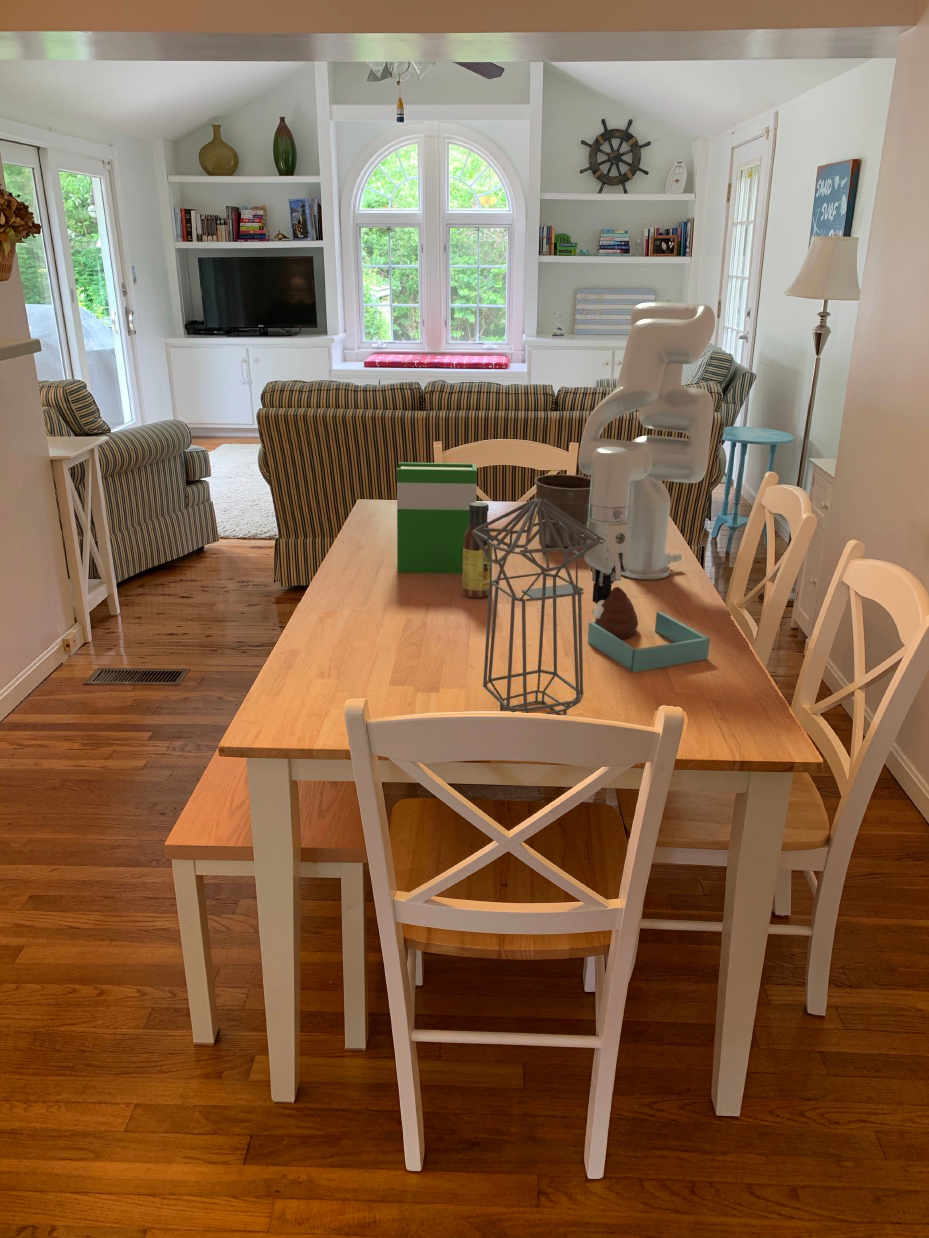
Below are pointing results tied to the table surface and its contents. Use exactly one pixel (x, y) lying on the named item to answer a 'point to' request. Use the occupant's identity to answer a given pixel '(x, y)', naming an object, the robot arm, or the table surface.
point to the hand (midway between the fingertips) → (601, 602)
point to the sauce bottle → (476, 555)
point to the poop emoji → (616, 614)
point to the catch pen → (683, 649)
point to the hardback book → (433, 515)
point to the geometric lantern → (571, 528)
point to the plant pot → (564, 503)
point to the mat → (550, 591)
